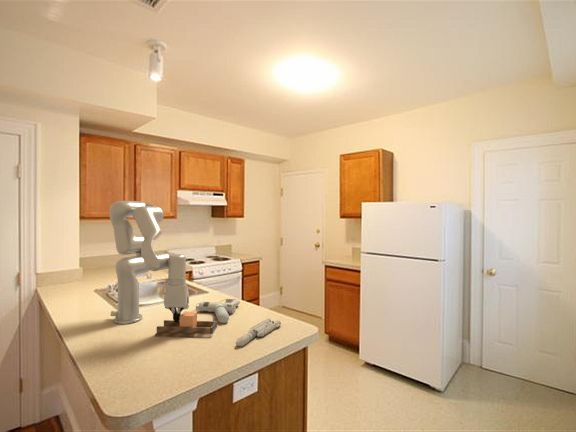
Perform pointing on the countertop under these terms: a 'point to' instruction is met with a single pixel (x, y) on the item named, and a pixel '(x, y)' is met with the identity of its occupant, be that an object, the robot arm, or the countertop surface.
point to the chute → (187, 329)
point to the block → (188, 319)
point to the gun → (219, 308)
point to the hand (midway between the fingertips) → (176, 321)
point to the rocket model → (258, 331)
